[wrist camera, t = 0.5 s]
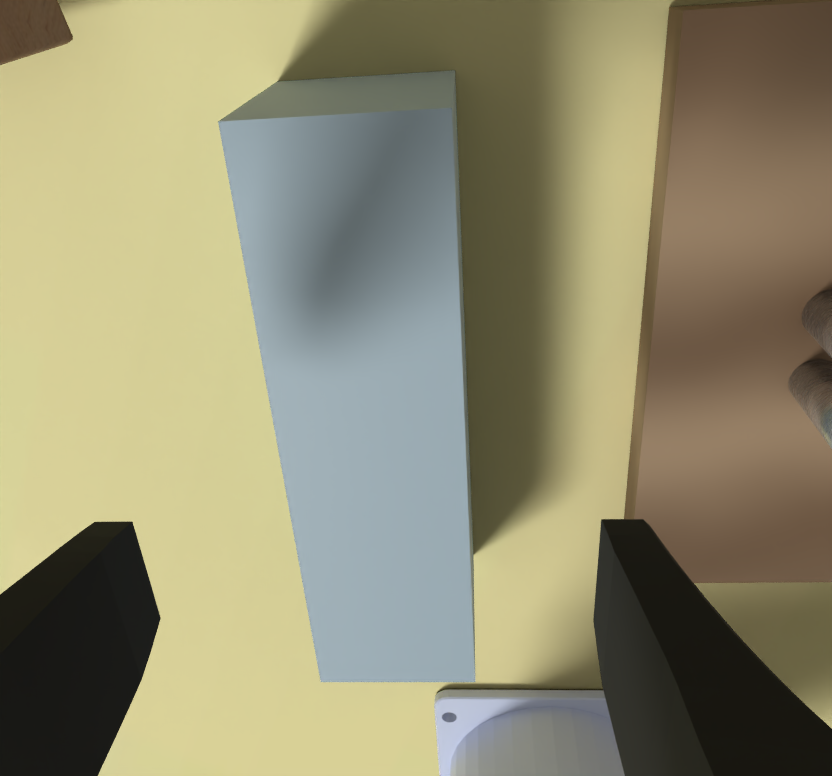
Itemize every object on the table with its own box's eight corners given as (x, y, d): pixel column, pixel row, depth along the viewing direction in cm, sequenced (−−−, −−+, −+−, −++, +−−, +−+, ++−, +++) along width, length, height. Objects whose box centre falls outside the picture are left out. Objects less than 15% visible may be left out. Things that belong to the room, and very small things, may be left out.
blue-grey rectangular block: (473, 550, 24) (475, 682, 20) (346, 552, 24) (320, 682, 20) (455, 69, 17) (451, 107, 13) (279, 80, 18) (218, 121, 13)
